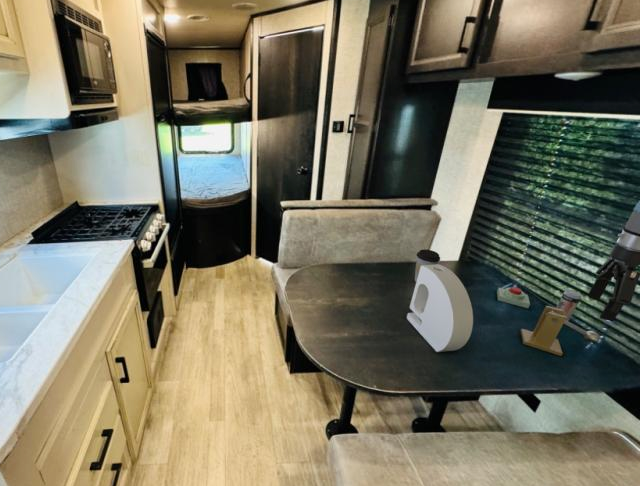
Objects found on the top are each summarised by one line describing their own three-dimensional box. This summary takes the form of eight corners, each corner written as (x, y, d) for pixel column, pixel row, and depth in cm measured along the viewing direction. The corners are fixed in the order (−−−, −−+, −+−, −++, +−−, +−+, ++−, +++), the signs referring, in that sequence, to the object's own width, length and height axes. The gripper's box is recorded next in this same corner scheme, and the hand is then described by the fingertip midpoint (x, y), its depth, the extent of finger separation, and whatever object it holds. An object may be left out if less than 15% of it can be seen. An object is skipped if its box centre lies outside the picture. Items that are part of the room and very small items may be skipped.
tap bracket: (556, 341, 111) (573, 310, 105) (561, 356, 105) (579, 323, 99) (520, 330, 116) (534, 300, 111) (522, 343, 110) (538, 312, 105)
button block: (525, 298, 135) (529, 291, 133) (528, 308, 129) (531, 300, 127) (496, 291, 140) (499, 283, 138) (497, 300, 134) (501, 292, 132)
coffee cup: (431, 278, 149) (440, 250, 143) (433, 288, 141) (442, 260, 135) (409, 274, 153) (417, 247, 147) (410, 284, 145) (418, 255, 139)
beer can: (548, 314, 125) (561, 289, 120) (561, 314, 125) (574, 289, 120) (558, 322, 121) (572, 296, 116) (571, 322, 120) (586, 297, 115)
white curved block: (422, 317, 124) (438, 261, 113) (462, 357, 105) (485, 295, 94) (406, 318, 123) (420, 263, 113) (443, 359, 104) (464, 296, 94)
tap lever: (591, 340, 104) (601, 333, 102) (594, 346, 101) (604, 340, 99) (544, 313, 109) (552, 307, 107) (545, 319, 106) (554, 312, 104)
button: (519, 291, 133) (521, 288, 132) (520, 296, 130) (522, 292, 130) (509, 289, 135) (510, 285, 134) (509, 293, 132) (511, 289, 131)
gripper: (603, 230, 101) (573, 285, 110) (631, 261, 82) (593, 325, 91) (637, 235, 97) (604, 292, 106) (675, 269, 78) (631, 335, 87)
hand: (599, 307), depth 98 cm, fingers open, 13 cm apart
